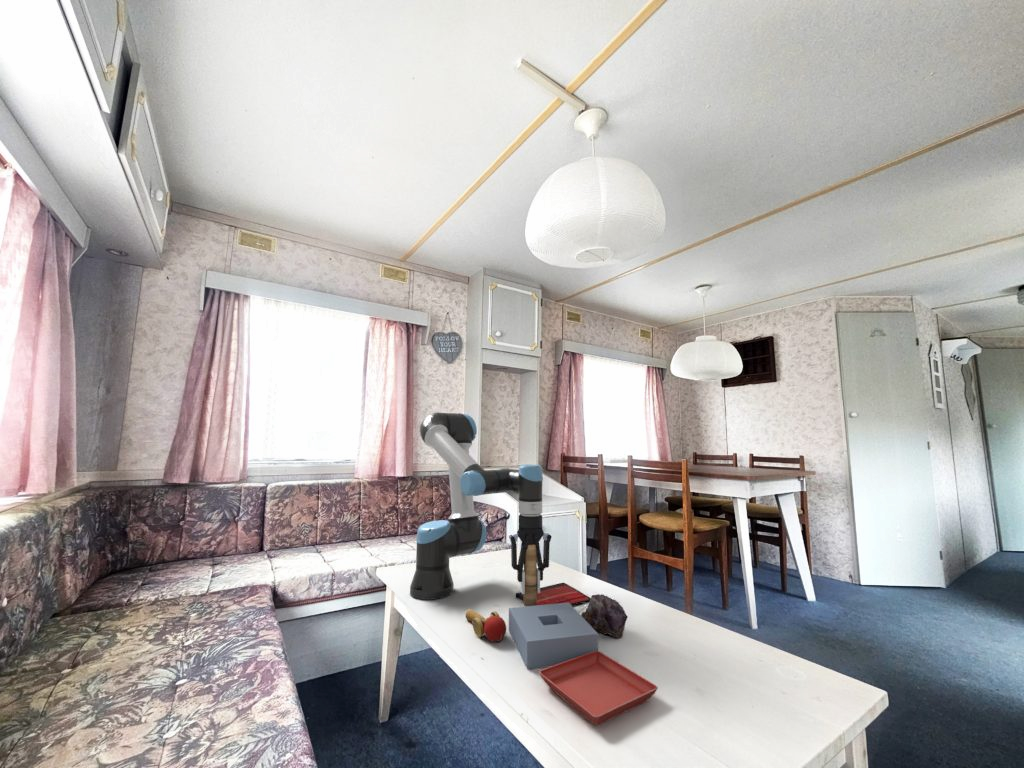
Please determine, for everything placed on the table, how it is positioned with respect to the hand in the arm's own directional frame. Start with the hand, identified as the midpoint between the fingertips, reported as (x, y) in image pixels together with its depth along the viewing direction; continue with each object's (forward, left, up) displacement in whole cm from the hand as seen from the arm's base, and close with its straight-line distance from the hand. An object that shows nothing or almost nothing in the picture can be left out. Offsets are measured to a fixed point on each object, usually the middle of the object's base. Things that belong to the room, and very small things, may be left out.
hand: (530, 591), depth 126 cm
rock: (+15, +18, -7) cm, 25 cm away
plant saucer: (+41, +3, -7) cm, 42 cm away
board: (+19, 0, -6) cm, 20 cm away
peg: (0, 0, -4) cm, 4 cm away
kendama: (+8, -16, -7) cm, 19 cm away
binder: (-10, +11, -7) cm, 16 cm away
